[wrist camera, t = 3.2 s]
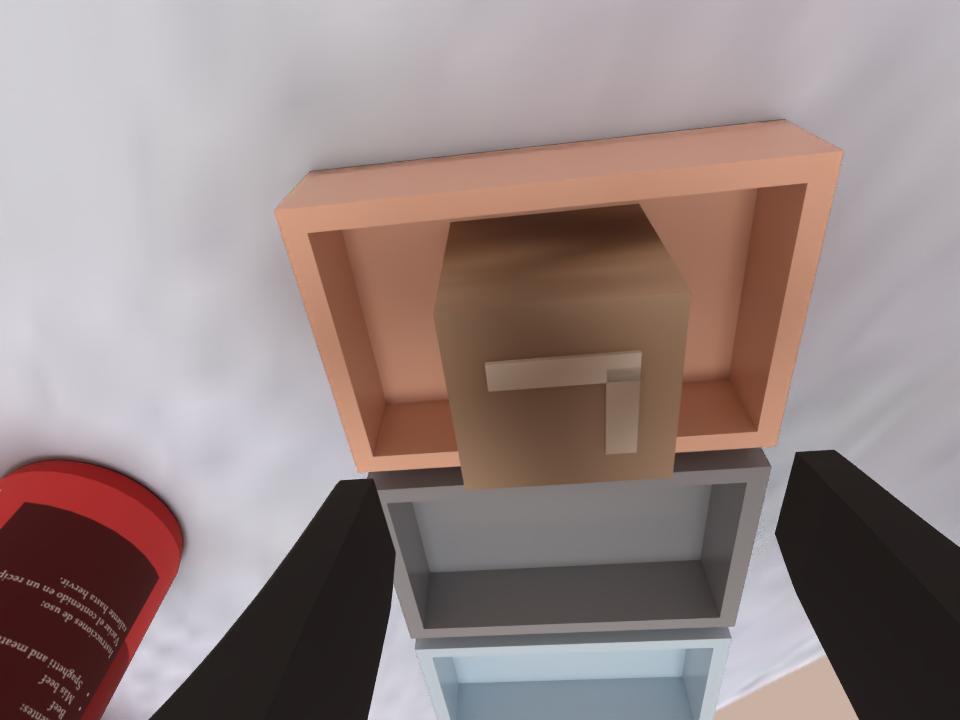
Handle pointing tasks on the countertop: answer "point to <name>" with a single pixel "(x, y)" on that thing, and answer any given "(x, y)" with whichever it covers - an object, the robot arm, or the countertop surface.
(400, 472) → the dish charcoal
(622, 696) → the dish blue
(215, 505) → the countertop surface
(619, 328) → the letter cube
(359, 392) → the dish terracotta
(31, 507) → the canned food
